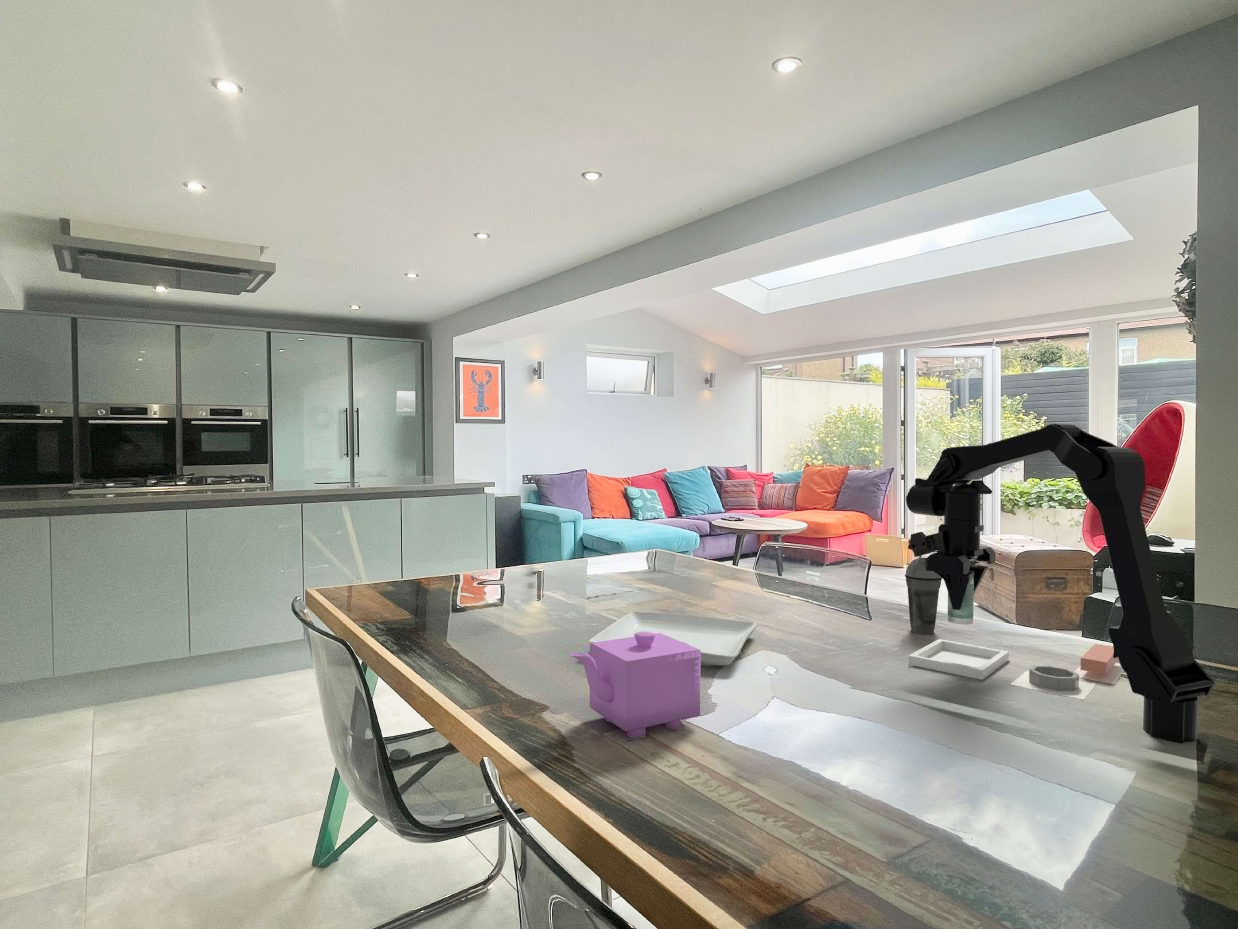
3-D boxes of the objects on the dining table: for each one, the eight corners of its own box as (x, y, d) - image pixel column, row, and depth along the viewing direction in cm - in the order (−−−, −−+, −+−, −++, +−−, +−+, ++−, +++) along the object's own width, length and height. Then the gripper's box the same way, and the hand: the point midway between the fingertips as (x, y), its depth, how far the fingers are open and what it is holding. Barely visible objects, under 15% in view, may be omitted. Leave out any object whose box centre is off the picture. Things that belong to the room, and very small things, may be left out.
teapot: (673, 701, 110) (674, 618, 110) (714, 723, 101) (715, 634, 101) (553, 725, 100) (553, 635, 100) (586, 752, 91) (587, 653, 91)
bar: (1106, 674, 118) (1106, 662, 118) (1080, 669, 120) (1080, 657, 120) (1119, 659, 127) (1119, 647, 127) (1094, 654, 129) (1095, 643, 129)
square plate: (736, 677, 123) (736, 654, 123) (585, 661, 131) (585, 639, 131) (758, 637, 148) (758, 618, 148) (631, 626, 157) (631, 608, 157)
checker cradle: (1099, 709, 108) (1099, 689, 107) (1010, 690, 116) (1010, 672, 116) (1128, 670, 127) (1128, 653, 127) (1049, 656, 135) (1050, 640, 135)
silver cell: (968, 625, 124) (969, 568, 124) (943, 621, 127) (945, 566, 127) (976, 621, 127) (977, 566, 127) (952, 617, 130) (953, 563, 130)
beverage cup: (945, 637, 148) (946, 539, 148) (907, 635, 150) (909, 538, 149) (936, 628, 155) (938, 535, 155) (900, 626, 157) (902, 534, 156)
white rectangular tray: (982, 685, 118) (982, 670, 118) (908, 669, 126) (908, 655, 126) (1008, 665, 129) (1008, 651, 129) (938, 652, 137) (939, 639, 137)
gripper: (933, 512, 139) (932, 593, 140) (895, 519, 126) (893, 609, 126) (996, 516, 132) (995, 602, 132) (963, 524, 118) (961, 619, 118)
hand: (960, 607), depth 127 cm, fingers closed on silver cell, 4 cm apart
